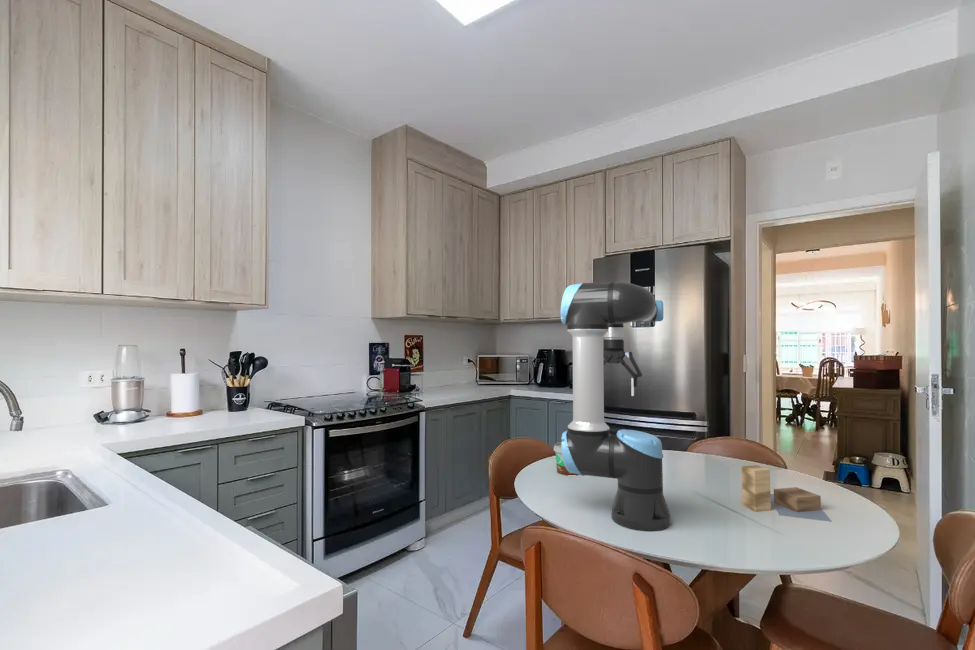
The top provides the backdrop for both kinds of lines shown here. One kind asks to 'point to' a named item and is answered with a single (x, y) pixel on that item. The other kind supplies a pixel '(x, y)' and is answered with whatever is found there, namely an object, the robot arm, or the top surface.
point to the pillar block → (756, 488)
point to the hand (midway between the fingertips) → (614, 395)
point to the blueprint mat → (807, 515)
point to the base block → (797, 499)
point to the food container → (560, 461)
